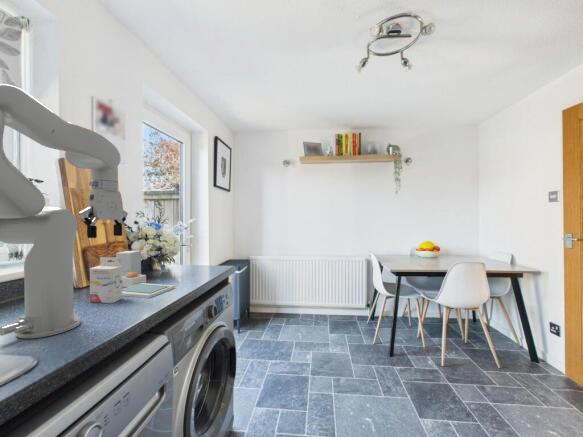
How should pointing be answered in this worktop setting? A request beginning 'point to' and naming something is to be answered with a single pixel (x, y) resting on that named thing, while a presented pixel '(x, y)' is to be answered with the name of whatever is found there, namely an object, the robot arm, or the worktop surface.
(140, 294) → the picture board
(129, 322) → the worktop surface
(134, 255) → the supplement box
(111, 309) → the worktop surface
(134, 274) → the button
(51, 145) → the robot arm
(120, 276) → the ink cartridge box
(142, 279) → the button housing
